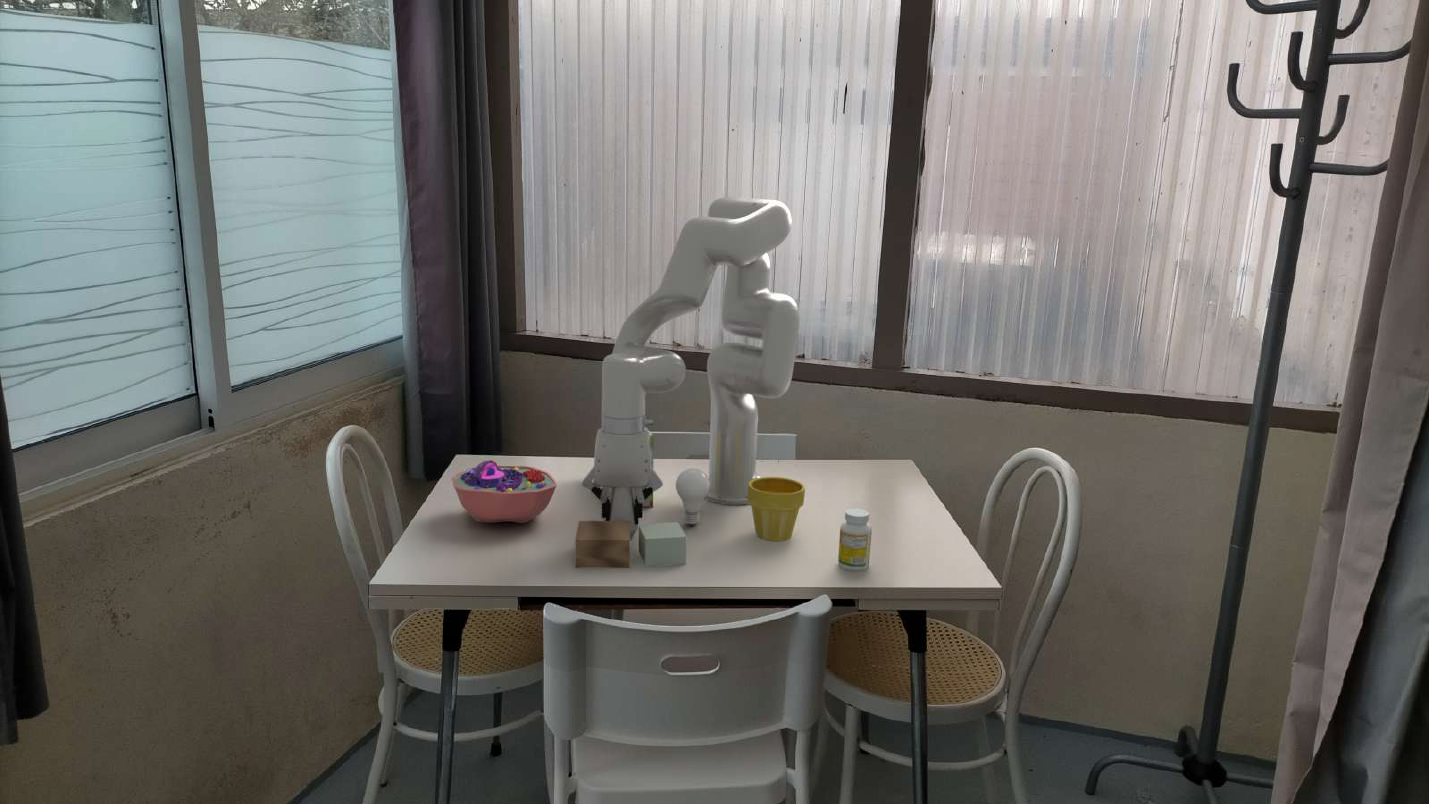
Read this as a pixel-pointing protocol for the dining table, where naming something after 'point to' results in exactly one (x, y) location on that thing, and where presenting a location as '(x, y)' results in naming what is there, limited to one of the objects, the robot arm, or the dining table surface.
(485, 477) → the cell model
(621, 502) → the salt shaker
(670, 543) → the sage block
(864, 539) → the supplement bottle
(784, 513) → the plant pot
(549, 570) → the dining table surface
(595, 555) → the walnut block
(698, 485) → the lightbulb
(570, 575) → the dining table surface
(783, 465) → the dining table surface
